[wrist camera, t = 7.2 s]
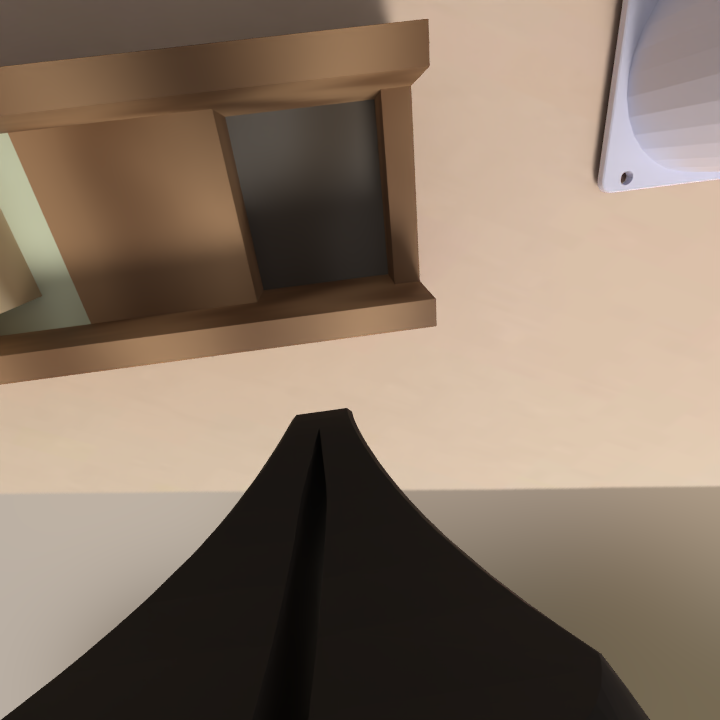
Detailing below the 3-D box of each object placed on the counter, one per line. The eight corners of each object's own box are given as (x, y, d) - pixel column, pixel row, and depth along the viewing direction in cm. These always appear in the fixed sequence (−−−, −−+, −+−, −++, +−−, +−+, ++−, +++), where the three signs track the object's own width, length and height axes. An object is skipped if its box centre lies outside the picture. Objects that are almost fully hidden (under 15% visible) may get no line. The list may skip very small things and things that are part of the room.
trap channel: (398, 64, 14) (428, 18, 10) (411, 291, 18) (436, 326, 14) (-348, 150, 13) (-640, 139, 9) (-175, 368, 17) (-330, 428, 13)
